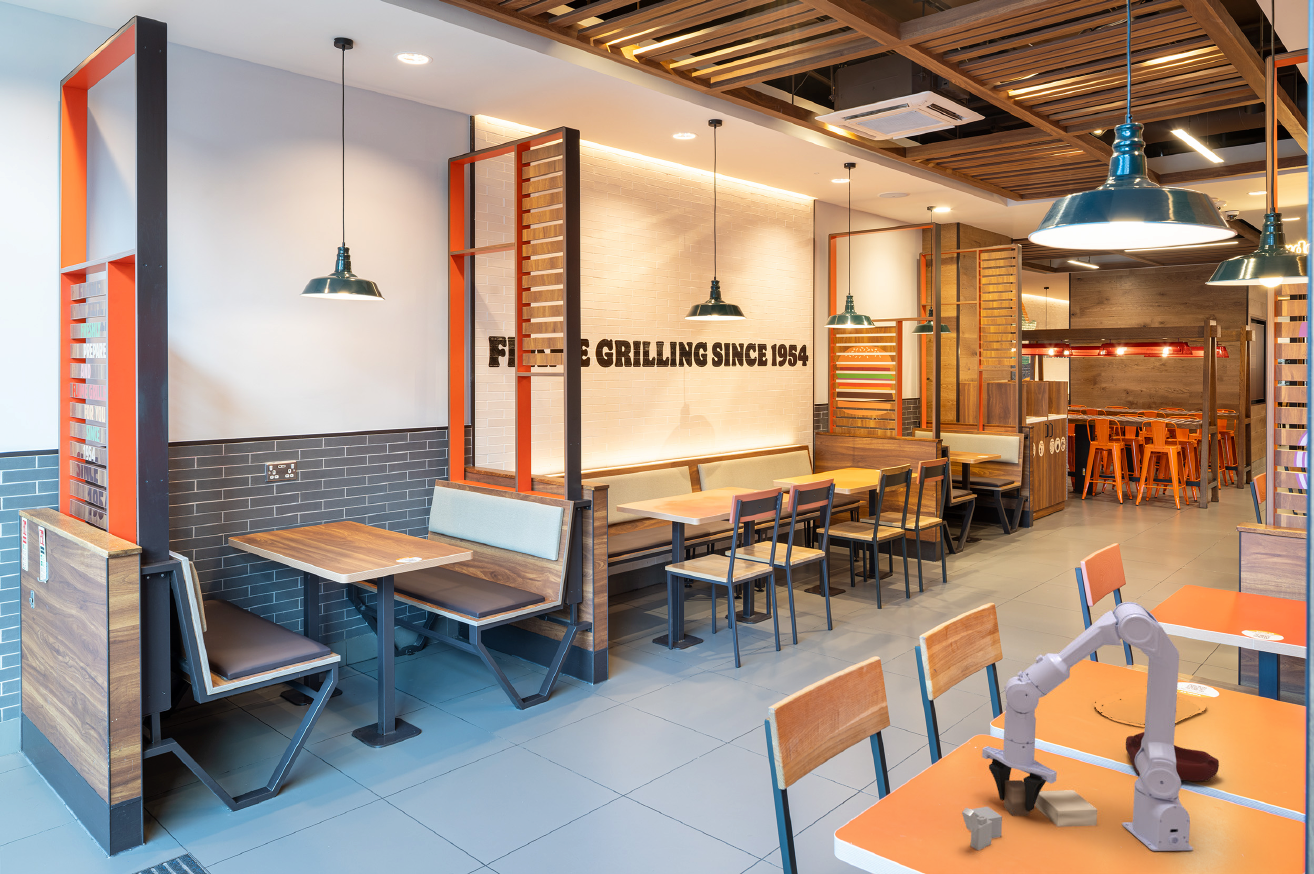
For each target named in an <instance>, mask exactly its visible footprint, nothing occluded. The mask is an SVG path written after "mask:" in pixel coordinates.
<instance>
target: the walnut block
mask: <svg viewBox="0 0 1314 874" xmlns="http://www.w3.org/2000/svg"><path fill="white" fill-rule="evenodd" d="M1025 801H1026V792H1025V785H1024V781H1023V780H1022V779H1021V780H1019V779H1018V780H1016V779H1014V780H1012V779H1009V780H1005V792H1004V800H1003V808H1005V810H1006V811H1007V812H1008V813H1009V814H1010V816H1014V817H1015V816H1016V817H1017V816H1019V817H1021V816H1030V812H1028V811H1026V809H1025Z"/></svg>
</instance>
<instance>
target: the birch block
mask: <svg viewBox="0 0 1314 874" xmlns="http://www.w3.org/2000/svg"><path fill="white" fill-rule="evenodd" d="M1034 808H1036V809H1038V810H1039V812H1041V813H1042V815H1044V816H1045V817H1046V818H1047V819H1048V820H1049V821H1050V822H1052V823H1053V824H1054V825H1055V826H1056V827H1057V828H1062V827H1064V828H1065V827H1086V826H1087V827H1089V826H1090V827H1091V826H1097V824H1098V823H1097V821H1098V820H1097V819H1098V809H1097V808H1096V807H1095V806H1093V805H1092V804H1091V803H1090V802H1088V801H1087V800H1086V799H1085V798H1084V797H1083V796H1082V795H1080V794H1079V793H1077V792H1076V791H1075V790H1073V789H1067V790H1065V789H1063V790H1061V789H1060V790H1042V791H1040V792H1039V795H1038V797H1037V800H1036V803H1035V807H1034Z"/></svg>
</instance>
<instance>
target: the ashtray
mask: <svg viewBox="0 0 1314 874" xmlns="http://www.w3.org/2000/svg"><path fill="white" fill-rule="evenodd" d="M1143 736H1144V731H1142V732H1139V733H1137V734H1134V735H1128V736H1127V737H1126V739H1125V750H1126V752H1127V754H1128V757H1129V760H1130V762H1131V764H1132V766H1133V769H1134V771H1135V773H1136V774H1137V775H1138V776H1140V773H1139V771H1138V769H1137V768H1136V765H1135V756H1136V754H1137V753H1138V751H1139V750H1140V748H1141V741H1142V738H1143ZM1174 750H1175V756H1176V771H1177V773H1178V775H1179V777H1180V780H1181V781H1190V782H1206V781H1205V780H1208V779H1209V780H1210V779H1213V778H1214V777H1215V776H1216V775H1217V773H1218V771H1219V769H1220V768H1219V767H1220V763H1219V759H1218V758H1216V757H1214V756H1212V755H1211V754H1209V753H1208V752H1206V751H1203V750H1199V749H1198V750H1196V749H1190V748H1185V747H1180V746H1178V745H1175V744H1174Z"/></svg>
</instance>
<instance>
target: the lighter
mask: <svg viewBox="0 0 1314 874" xmlns="http://www.w3.org/2000/svg"><path fill="white" fill-rule="evenodd" d="M971 809H972V808H968V807H967V806H966V807H965V808H964V809H963V811H962V812H961V814H962V817H963V820H964V824H965V827H966V828H967V830H969V831H970V847H971V848H973V849H974V850H976V851H980V850H982V849H984V848H986V847H988V846H990V845H992V839H991V834H992V821H990V820H988V819H987V817H986V816H982V815H981V816H979V817H977V818H976V816H975V812H974V811H973V810H971Z"/></svg>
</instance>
